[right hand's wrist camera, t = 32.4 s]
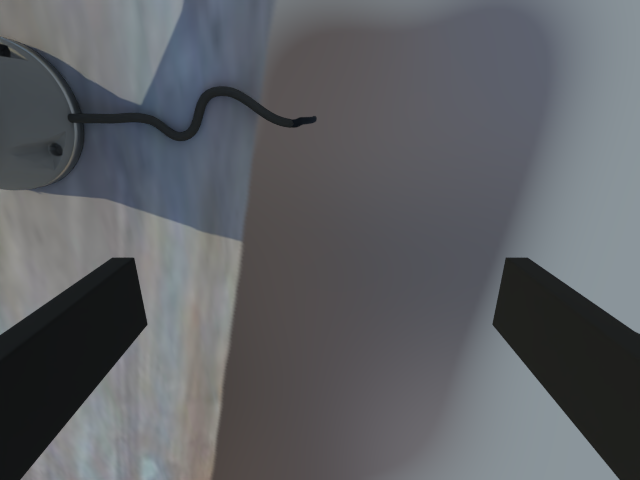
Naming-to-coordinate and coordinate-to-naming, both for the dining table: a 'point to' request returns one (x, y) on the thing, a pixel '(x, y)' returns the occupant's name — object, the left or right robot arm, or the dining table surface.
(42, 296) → the dining table surface
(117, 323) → the right robot arm
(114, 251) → the dining table surface
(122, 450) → the dining table surface
